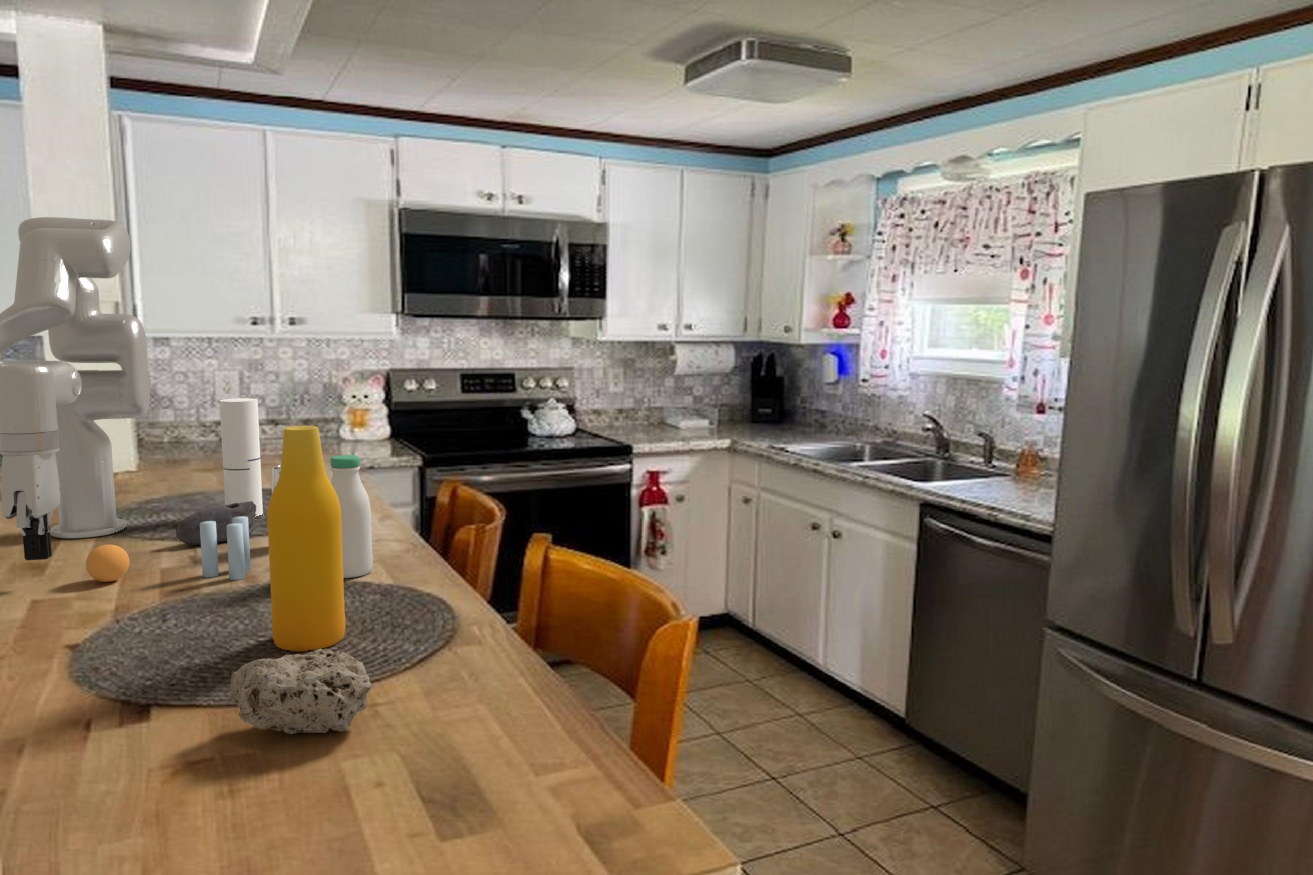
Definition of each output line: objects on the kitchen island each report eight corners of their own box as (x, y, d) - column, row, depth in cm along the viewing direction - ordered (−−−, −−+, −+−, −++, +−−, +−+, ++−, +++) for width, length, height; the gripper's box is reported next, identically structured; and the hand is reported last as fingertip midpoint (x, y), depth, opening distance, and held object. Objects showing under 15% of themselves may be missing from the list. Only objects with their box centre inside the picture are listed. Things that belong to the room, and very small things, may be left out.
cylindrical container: (270, 516, 189) (264, 399, 185) (238, 522, 183) (232, 402, 179) (250, 511, 192) (244, 397, 189) (218, 517, 187) (212, 400, 183)
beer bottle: (272, 632, 122) (262, 424, 118) (343, 624, 126) (336, 422, 122) (272, 656, 114) (262, 433, 110) (348, 647, 117) (341, 431, 113)
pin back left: (230, 576, 147) (228, 523, 145) (246, 575, 147) (243, 522, 146) (227, 580, 144) (225, 527, 143) (243, 579, 145) (241, 526, 144)
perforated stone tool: (180, 551, 161) (178, 514, 160) (172, 545, 165) (170, 509, 164) (265, 537, 171) (263, 502, 170) (255, 532, 175) (253, 498, 174)
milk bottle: (382, 569, 152) (379, 455, 149) (349, 581, 145) (345, 461, 142) (348, 563, 155) (344, 451, 152) (314, 575, 148) (309, 457, 145)
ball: (94, 576, 145) (91, 541, 144) (135, 574, 147) (133, 539, 146) (81, 587, 140) (78, 551, 139) (124, 585, 141) (121, 549, 140)
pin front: (204, 573, 148) (201, 521, 147) (220, 572, 149) (217, 520, 147) (201, 577, 146) (198, 524, 144) (217, 577, 146) (214, 524, 145)
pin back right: (236, 567, 152) (233, 516, 150) (251, 567, 152) (249, 516, 151) (233, 571, 149) (231, 519, 148) (249, 571, 150) (246, 519, 149)
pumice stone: (229, 763, 87) (224, 686, 86) (233, 713, 98) (229, 644, 97) (376, 738, 93) (374, 666, 92) (364, 693, 104) (362, 628, 102)
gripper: (22, 438, 143) (30, 548, 146) (-22, 450, 129) (-11, 572, 131) (74, 437, 145) (82, 546, 148) (37, 448, 131) (46, 569, 133)
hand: (38, 558), depth 139 cm, fingers closed
